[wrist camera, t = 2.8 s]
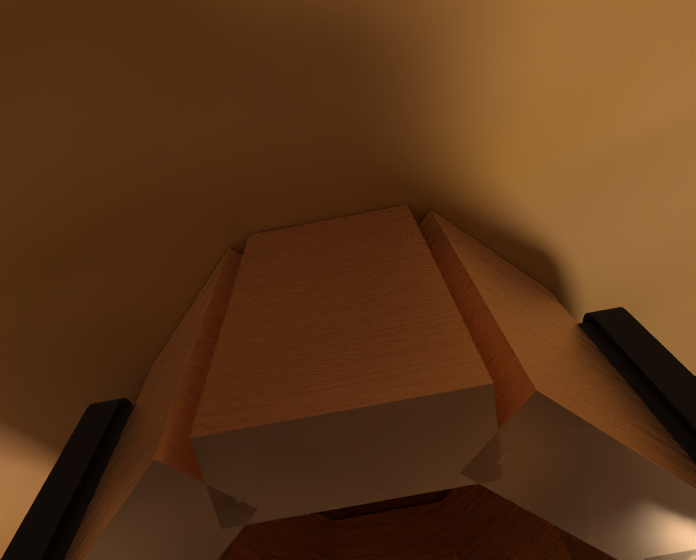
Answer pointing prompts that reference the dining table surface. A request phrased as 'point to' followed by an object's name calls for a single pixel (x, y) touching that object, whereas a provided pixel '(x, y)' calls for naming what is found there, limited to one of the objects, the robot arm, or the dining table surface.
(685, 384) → the robot arm
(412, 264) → the ring
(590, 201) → the dining table surface
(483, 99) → the dining table surface
